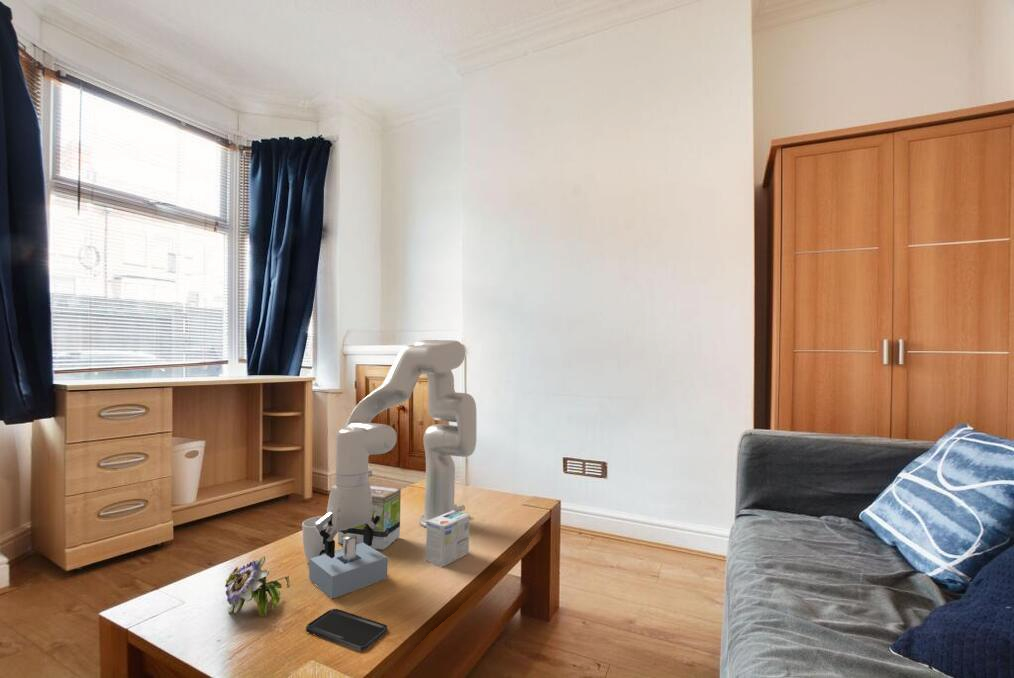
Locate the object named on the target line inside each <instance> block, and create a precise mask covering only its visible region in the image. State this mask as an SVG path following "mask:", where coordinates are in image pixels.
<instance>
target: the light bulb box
mask: <svg viewBox="0 0 1014 678" xmlns="http://www.w3.org/2000/svg"><path fill="white" fill-rule="evenodd" d="M470 519H471V517H470V514H467V513H463V512H462V511H459V512H457V511H454V510H452V511H450V512H447V513H445V514H443V515H440V516H438V517H435V518H433V519H430V520H427V527H426V537H425V538H426V539H425V540H426V541H425V542H426V543H425V544H426V545H425V546H426V547H425V549H426V550H425V560H426V562H429V563H431V564H434V565H436V566H437V567H438V566H439V567H441V568H444V567H446V566H448V565H450V564H451V563H453V562H455V561H458V560H459V559H461V558H463V557H464V556H466V555H468V554H469V552H470V551H469V550H470Z"/></svg>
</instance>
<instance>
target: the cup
mask: <svg viewBox="0 0 1014 678" xmlns="http://www.w3.org/2000/svg"><path fill="white" fill-rule="evenodd" d="M324 516H325V515H321V516H320V515H319V516H314V517H310V518H308V519H305V520H304V521H303V522H302V524H301V528H302V530H301V531H302V544H303V550H304V555H305V558H306V561H308V562H309V563H308V562H307V563H308V564H310V559H311V558H314V557H317V556H320V555H324V554H325V539H324V538H323V537H322V536H321V535H319V534H318V532H317V530H316V528H315V527H314V524H315V523H316V522H317V521H319V520H320V519H321V518H322V517H324ZM328 527H329V526H327V524H325V525H324V526H323V528H324V531H326V530H327V529H328Z"/></svg>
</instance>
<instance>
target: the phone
mask: <svg viewBox="0 0 1014 678" xmlns="http://www.w3.org/2000/svg"><path fill="white" fill-rule="evenodd" d="M305 631H307V632H309V633H308V634H310V633H311V635H313V634H315V635H317V636H316V637H318V636H319V638H321V637H322V638H321V639H323V638H324V640H327V641H329V642H332V643H335V644H336V645H341V646H342V647H345V648H348V649H351V650H353V651H356V652H359V651H360V652H365V651H367V650H368V649H370V648H371V647H372V646H373V645H374V644H376V642H378V641H379V640H380V639H381V638H382V637H384V636H385V635H386V634H387V633H388V625H387V624H384V623H382V622H381V623H380V622H378V621H376V620H372V619H370V618H366V617H363V616H360V615H357V614H353V613H351V612H347V611H345V610H342V609H338V608H331V609H329V610H327V611H325V612H324V613H323V614H321V615H320V616H318V617H317V618H315V619H313V620H312V621H311V622H309V623H307V624H306V626H305ZM307 632H306V633H307ZM315 635H314V636H315ZM370 646H371V647H370Z"/></svg>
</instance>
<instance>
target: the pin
mask: <svg viewBox="0 0 1014 678" xmlns="http://www.w3.org/2000/svg"><path fill="white" fill-rule="evenodd" d="M356 537H357V536H356V535H347V536H345V537H344V539H343V544H342V549H343V563H344V564H346V563H349V562H352V561H355V560H356Z"/></svg>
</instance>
